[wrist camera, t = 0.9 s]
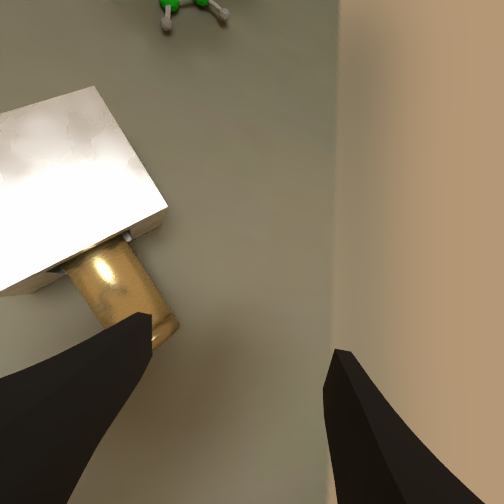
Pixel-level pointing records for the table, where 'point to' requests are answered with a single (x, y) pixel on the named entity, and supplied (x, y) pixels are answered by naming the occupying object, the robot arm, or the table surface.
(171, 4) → the molecule models
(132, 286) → the amber cylinder
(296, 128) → the table surface
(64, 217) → the housing
